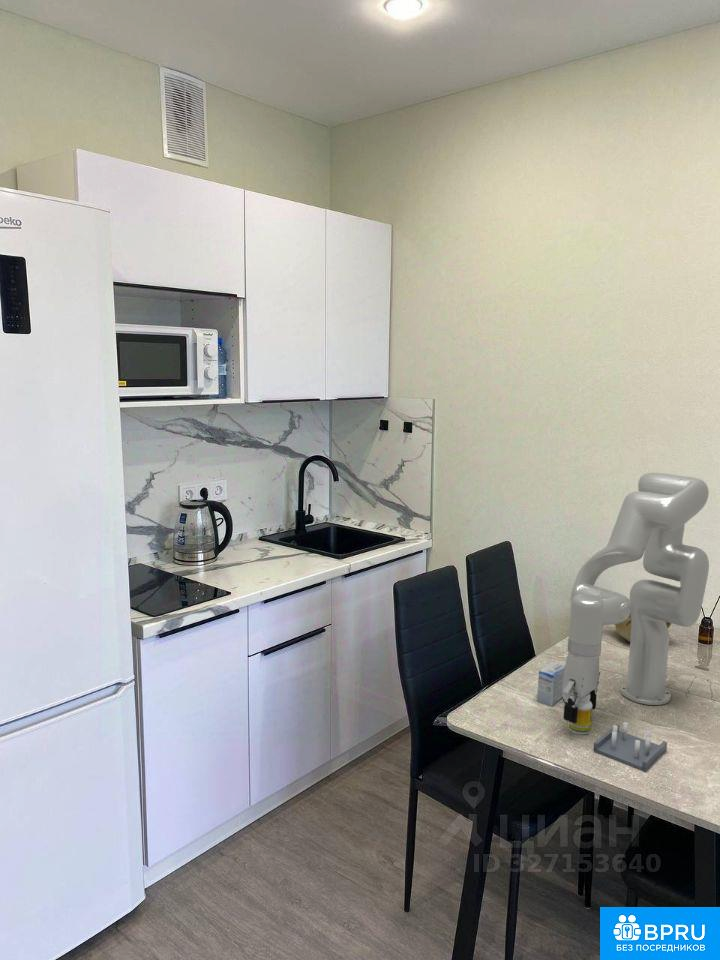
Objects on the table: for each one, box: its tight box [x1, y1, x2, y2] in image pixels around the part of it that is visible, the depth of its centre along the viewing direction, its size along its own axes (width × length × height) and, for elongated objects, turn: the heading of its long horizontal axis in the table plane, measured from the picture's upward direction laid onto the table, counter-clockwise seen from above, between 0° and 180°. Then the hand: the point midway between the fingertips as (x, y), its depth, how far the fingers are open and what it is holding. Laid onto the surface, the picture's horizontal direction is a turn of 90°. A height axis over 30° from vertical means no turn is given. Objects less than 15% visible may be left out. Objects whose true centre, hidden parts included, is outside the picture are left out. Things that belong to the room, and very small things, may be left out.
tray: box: [592, 721, 668, 773], centre depth 165 cm, size 12×12×5 cm
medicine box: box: [536, 661, 565, 707], centre depth 190 cm, size 8×4×9 cm, turn 141°
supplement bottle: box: [567, 691, 593, 736], centre depth 174 cm, size 5×5×10 cm
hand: (579, 714), depth 174 cm, fingers open, 9 cm apart
